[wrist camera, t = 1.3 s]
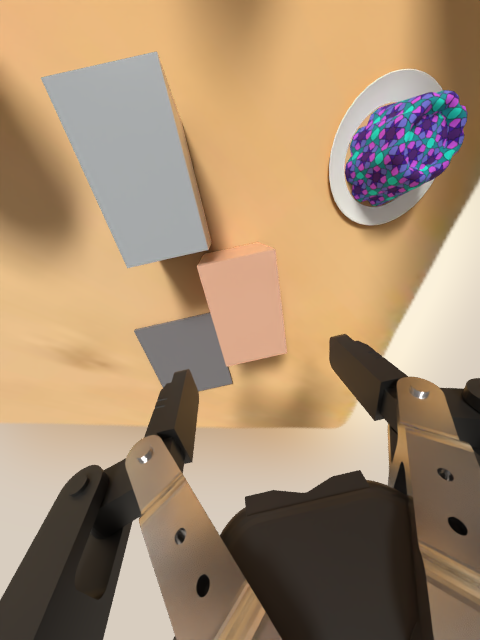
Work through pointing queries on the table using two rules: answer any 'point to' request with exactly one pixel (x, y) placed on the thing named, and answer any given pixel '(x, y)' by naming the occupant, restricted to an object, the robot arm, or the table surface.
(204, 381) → the mat
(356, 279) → the table surface
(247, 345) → the cover terracotta
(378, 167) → the pudding
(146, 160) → the plate
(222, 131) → the table surface
